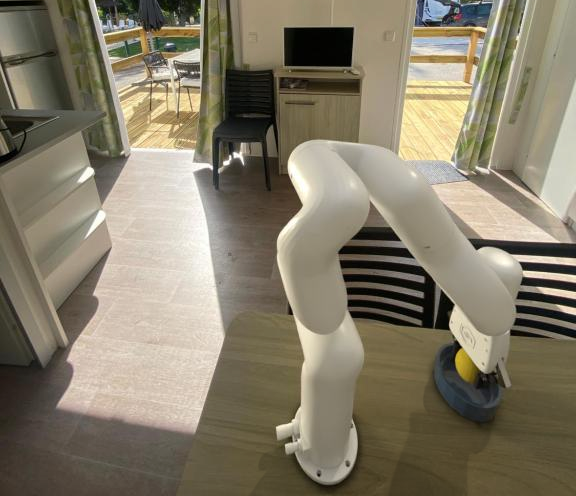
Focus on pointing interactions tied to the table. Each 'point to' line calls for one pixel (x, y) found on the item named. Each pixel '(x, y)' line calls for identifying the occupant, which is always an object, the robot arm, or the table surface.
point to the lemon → (466, 366)
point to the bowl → (464, 389)
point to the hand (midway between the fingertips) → (469, 368)
